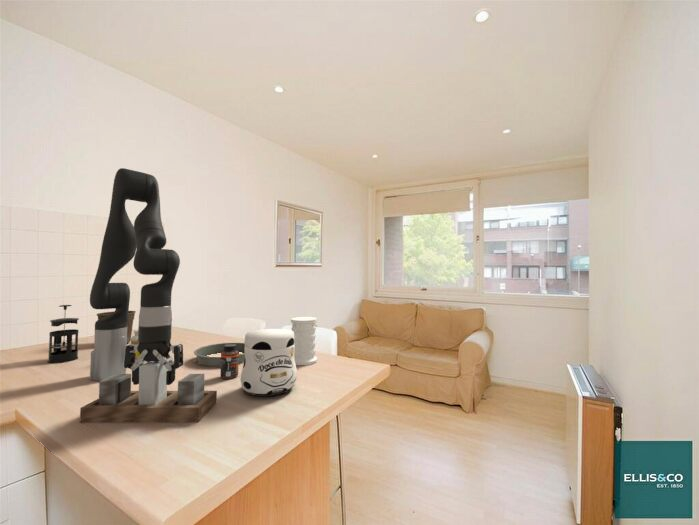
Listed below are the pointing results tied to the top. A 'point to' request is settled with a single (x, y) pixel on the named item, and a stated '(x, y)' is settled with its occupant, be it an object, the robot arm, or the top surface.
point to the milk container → (269, 362)
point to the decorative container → (304, 340)
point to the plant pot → (129, 324)
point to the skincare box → (152, 383)
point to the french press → (69, 353)
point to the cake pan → (215, 349)
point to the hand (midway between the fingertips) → (153, 383)
